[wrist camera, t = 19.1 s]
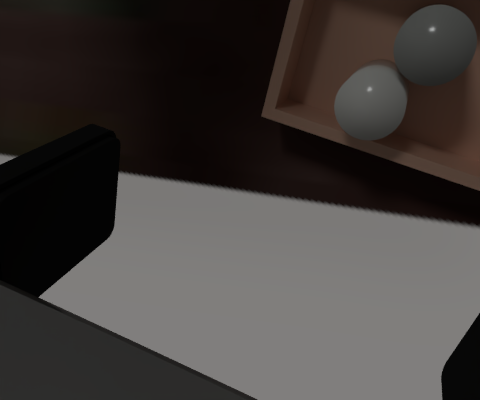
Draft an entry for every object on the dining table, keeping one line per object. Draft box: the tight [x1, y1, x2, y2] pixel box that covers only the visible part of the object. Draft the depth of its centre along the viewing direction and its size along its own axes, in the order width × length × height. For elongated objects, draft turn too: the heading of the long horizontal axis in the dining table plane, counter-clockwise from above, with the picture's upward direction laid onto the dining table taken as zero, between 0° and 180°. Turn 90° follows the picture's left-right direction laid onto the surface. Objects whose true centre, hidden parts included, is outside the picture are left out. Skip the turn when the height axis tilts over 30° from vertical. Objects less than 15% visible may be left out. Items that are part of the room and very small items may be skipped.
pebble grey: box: [334, 59, 410, 140], centre depth 28 cm, size 4×4×6 cm
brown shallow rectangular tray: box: [261, 0, 480, 191], centre depth 28 cm, size 12×16×4 cm
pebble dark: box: [394, 3, 477, 86], centre depth 25 cm, size 4×4×6 cm
